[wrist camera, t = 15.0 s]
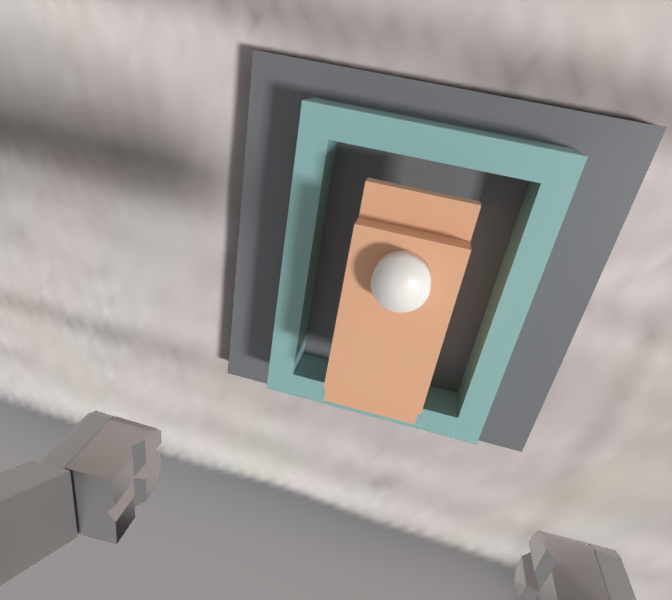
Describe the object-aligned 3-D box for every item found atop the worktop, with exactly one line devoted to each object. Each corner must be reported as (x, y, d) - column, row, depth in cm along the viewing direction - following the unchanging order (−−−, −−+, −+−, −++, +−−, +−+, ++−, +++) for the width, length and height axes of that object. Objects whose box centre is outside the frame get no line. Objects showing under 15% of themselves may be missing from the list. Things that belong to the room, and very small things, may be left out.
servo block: (342, 352, 25) (314, 425, 20) (380, 161, 21) (357, 191, 15) (419, 371, 24) (411, 452, 19) (475, 181, 20) (484, 218, 15)
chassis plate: (234, 363, 28) (212, 394, 25) (261, 51, 21) (233, 47, 18) (519, 438, 26) (527, 480, 23) (656, 125, 19) (690, 133, 16)
